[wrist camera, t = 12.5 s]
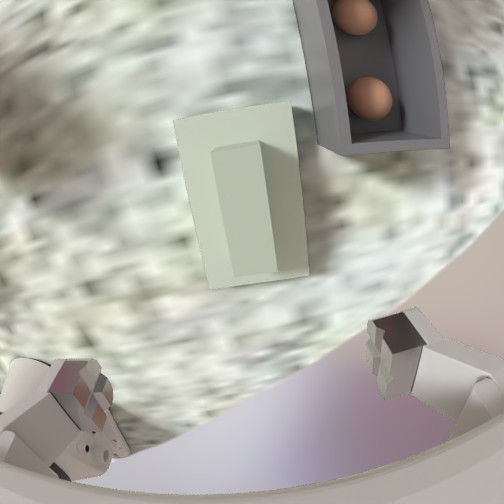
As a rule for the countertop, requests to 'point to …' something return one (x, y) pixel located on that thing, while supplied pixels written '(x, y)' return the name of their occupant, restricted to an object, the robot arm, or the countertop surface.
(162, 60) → the countertop surface
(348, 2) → the ball
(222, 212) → the lid
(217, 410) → the countertop surface
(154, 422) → the countertop surface
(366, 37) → the box
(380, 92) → the ball
